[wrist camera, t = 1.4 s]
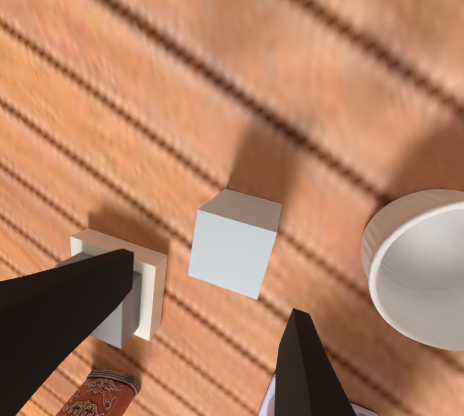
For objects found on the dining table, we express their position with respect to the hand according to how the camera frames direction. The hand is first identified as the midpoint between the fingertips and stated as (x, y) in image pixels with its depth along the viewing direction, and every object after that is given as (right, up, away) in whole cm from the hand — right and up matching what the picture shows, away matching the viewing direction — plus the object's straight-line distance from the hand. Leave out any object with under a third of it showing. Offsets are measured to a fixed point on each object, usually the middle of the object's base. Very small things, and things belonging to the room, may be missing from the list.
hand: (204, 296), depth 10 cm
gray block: (+2, +3, +8) cm, 9 cm away
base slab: (-10, -3, +14) cm, 18 cm away
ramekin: (+14, +1, +6) cm, 15 cm away
